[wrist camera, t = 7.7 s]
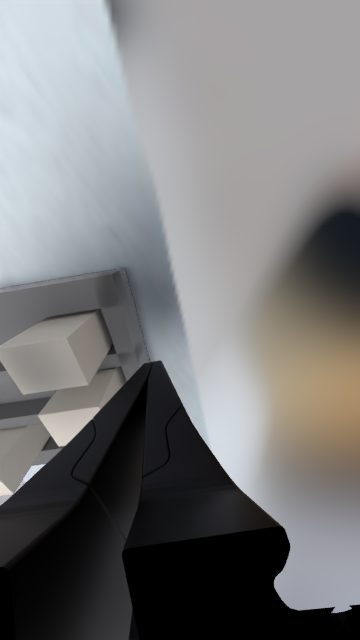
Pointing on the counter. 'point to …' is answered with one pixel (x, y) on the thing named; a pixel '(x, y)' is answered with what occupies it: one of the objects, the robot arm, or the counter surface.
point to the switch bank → (57, 299)
